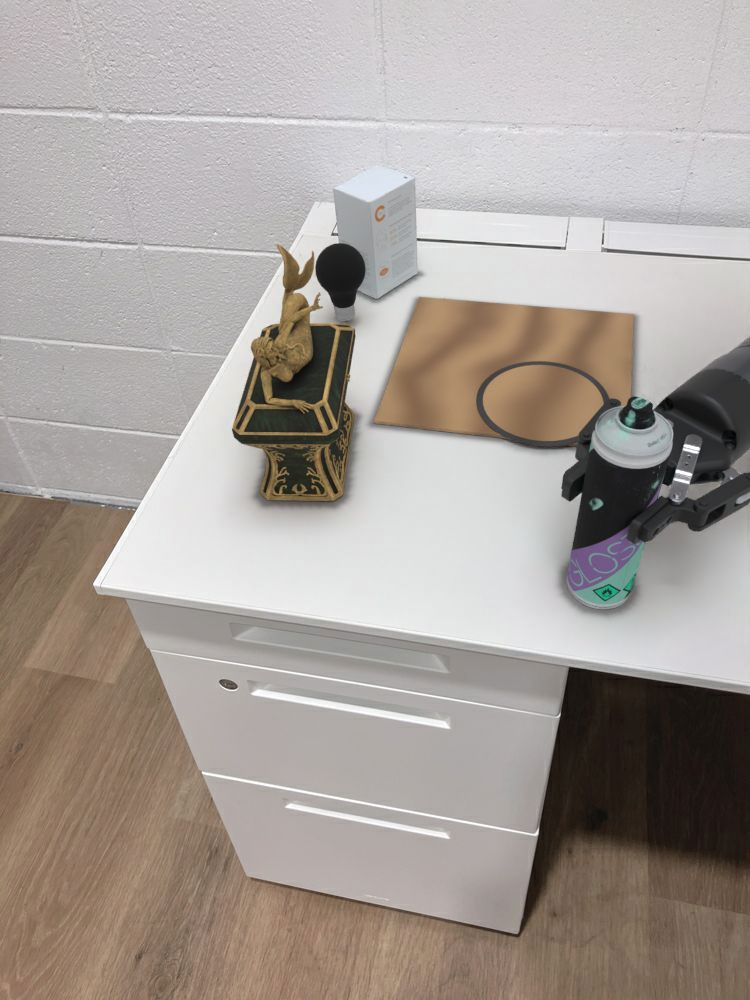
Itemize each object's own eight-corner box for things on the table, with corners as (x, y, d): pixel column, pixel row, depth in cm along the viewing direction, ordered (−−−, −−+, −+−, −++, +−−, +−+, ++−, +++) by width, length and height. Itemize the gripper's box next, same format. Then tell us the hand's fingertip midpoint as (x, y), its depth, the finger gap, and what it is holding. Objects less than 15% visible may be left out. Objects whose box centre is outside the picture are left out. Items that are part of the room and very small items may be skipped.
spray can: (563, 604, 67) (596, 424, 53) (568, 554, 71) (600, 374, 57) (631, 614, 66) (683, 434, 52) (632, 563, 70) (682, 381, 55)
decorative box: (349, 515, 76) (328, 342, 62) (250, 513, 77) (206, 343, 63) (367, 383, 90) (353, 217, 75) (282, 383, 90) (253, 219, 76)
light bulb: (347, 340, 95) (339, 265, 88) (312, 324, 98) (301, 249, 91) (379, 317, 98) (374, 243, 91) (344, 302, 101) (336, 228, 94)
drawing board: (633, 316, 95) (634, 313, 95) (627, 459, 79) (628, 455, 78) (419, 299, 101) (419, 295, 100) (371, 429, 84) (371, 425, 84)
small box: (383, 258, 108) (378, 162, 99) (419, 274, 105) (417, 176, 95) (341, 284, 104) (331, 186, 95) (376, 300, 101) (369, 202, 92)
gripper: (661, 335, 68) (528, 429, 61) (824, 412, 60) (694, 531, 53) (644, 404, 73) (521, 497, 66) (793, 482, 66) (670, 599, 58)
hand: (598, 512), depth 60 cm, fingers closed on spray can, 5 cm apart
